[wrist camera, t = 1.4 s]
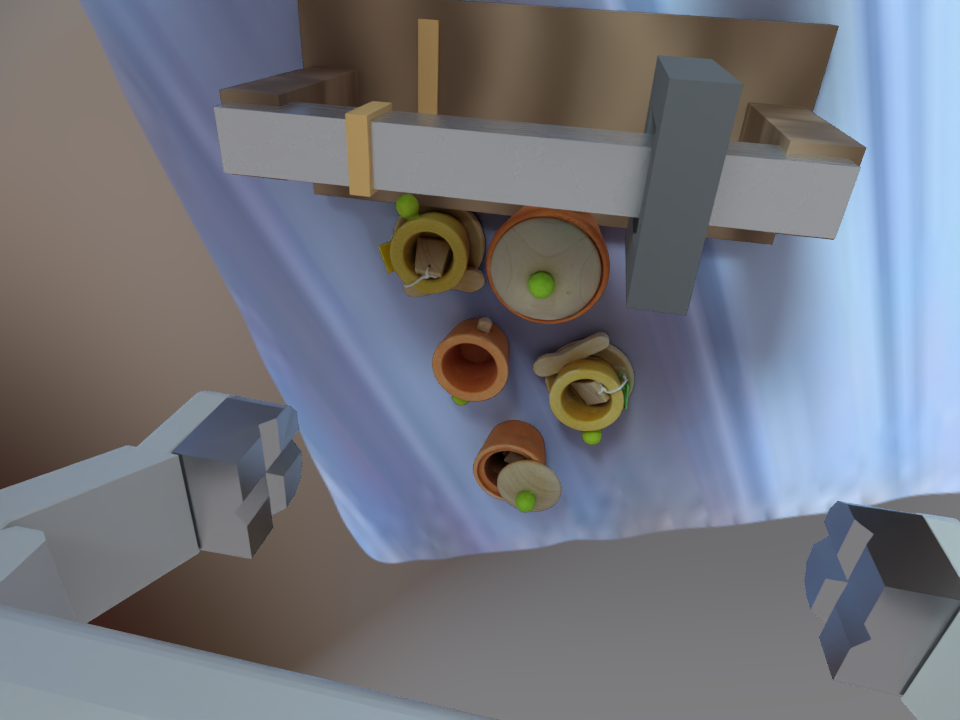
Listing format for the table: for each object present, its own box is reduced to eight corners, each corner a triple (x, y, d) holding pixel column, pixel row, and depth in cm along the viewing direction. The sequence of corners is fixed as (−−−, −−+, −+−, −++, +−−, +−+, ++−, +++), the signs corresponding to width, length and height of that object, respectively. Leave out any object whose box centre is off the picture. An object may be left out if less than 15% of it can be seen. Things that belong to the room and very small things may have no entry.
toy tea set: (372, 195, 45) (316, 242, 36) (590, 132, 40) (581, 170, 32) (484, 479, 56) (460, 563, 48) (664, 457, 51) (671, 546, 43)
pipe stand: (323, 188, 44) (216, 259, 33) (307, -10, 38) (169, -8, 27) (767, 236, 40) (826, 337, 29) (830, 24, 34) (938, 44, 22)
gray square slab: (625, 237, 34) (626, 307, 27) (657, 55, 30) (669, 78, 22) (672, 242, 34) (686, 315, 27) (712, 58, 30) (743, 84, 22)
